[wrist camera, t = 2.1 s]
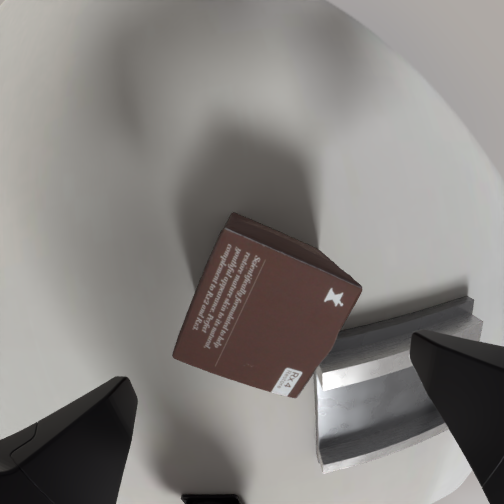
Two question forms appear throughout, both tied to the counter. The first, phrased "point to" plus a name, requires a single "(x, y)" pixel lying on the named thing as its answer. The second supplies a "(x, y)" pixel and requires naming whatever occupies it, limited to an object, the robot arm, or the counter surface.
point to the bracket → (381, 387)
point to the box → (265, 309)
